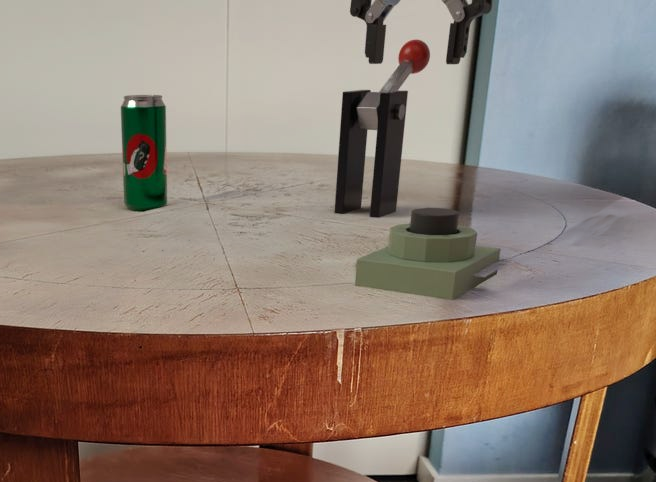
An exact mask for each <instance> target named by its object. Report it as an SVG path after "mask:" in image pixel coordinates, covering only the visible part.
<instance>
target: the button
mask: <svg viewBox="0 0 656 482" xmlns="http://www.w3.org/2000/svg"><path fill="white" fill-rule="evenodd" d="M459 217H460V212H459V211H458V210H455V209H451V208H443V207H421V208H420V207H419V208H415V209H412V210H411V213H410V221H409V223H410V230H409V232H411V233H415V234H423V235H452V234H457V226H458V225H459Z"/></svg>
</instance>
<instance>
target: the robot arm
mask: <svg viewBox="0 0 656 482" xmlns="http://www.w3.org/2000/svg"><path fill="white" fill-rule="evenodd" d="M400 2H401V0H374V1H373V2H372V0H350V8H349V14H350V15H351V17H354V18H357V19H360V20H362V21H364V22H365V24H366V32H365V44H364V56H365V58H367V59H368V63H369V65H381V64H383V62H384V55H385V44H386V43H385V42H386V33H387V24H384V21H385V20H386V19H387V17H388V16H389V14H390V13H391V12H392V10H393V9H394V8H395V6H397V5H399V3H400ZM441 2H443V4H444V5H445V7H446V8H447V10H448V13H449V14H450V15H451V17H452V20H453V22H450V24H449V32H448V39H447V48H446V58H445V63H446V65H459V64H460V63H461V59H465V56H466V54H467V53H468V52H467V51H468V44H469V39H470V38H469V36H470V29H471V24H472V22H473V21H474V20H475V19H476V18H479V17H481V16H485V15H488V14H489V13H490V12H491V11H492V9H493V0H471V3H469V2H468V0H441Z"/></svg>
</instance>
